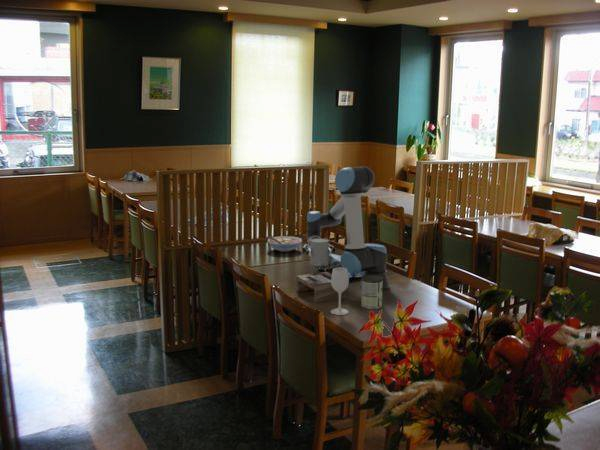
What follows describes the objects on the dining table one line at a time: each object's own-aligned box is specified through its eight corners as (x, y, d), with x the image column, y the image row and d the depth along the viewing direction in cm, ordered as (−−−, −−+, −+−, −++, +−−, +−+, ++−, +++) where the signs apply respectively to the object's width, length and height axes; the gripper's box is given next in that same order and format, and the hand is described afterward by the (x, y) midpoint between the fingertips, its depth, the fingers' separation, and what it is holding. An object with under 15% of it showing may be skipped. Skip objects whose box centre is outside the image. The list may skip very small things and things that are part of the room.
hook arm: (334, 285, 319) (334, 281, 319) (323, 287, 317) (323, 283, 316) (319, 278, 333) (319, 274, 332) (309, 279, 330) (309, 276, 330)
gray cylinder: (327, 266, 319) (327, 242, 317) (308, 265, 321) (308, 241, 319) (330, 261, 329) (330, 238, 326) (312, 260, 330) (312, 237, 328)
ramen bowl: (308, 253, 410) (308, 241, 408) (274, 256, 402) (274, 244, 400) (294, 245, 433) (294, 233, 431) (262, 248, 424) (262, 236, 423)
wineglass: (337, 308, 304) (338, 265, 300) (352, 311, 299) (353, 268, 294) (326, 312, 297) (327, 269, 293) (341, 316, 292) (342, 272, 288)
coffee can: (359, 302, 313) (360, 274, 310) (380, 302, 313) (381, 274, 310) (362, 309, 303) (362, 280, 300) (383, 308, 303) (384, 280, 300)
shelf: (347, 297, 320) (347, 282, 319) (316, 302, 312) (316, 286, 311) (326, 286, 339) (326, 271, 338) (296, 290, 332) (296, 275, 330)
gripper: (336, 249, 343) (342, 260, 321) (295, 250, 341) (298, 261, 319) (336, 236, 341) (342, 245, 319) (295, 237, 340) (298, 246, 318)
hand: (320, 253), depth 319 cm, fingers closed on gray cylinder, 9 cm apart
